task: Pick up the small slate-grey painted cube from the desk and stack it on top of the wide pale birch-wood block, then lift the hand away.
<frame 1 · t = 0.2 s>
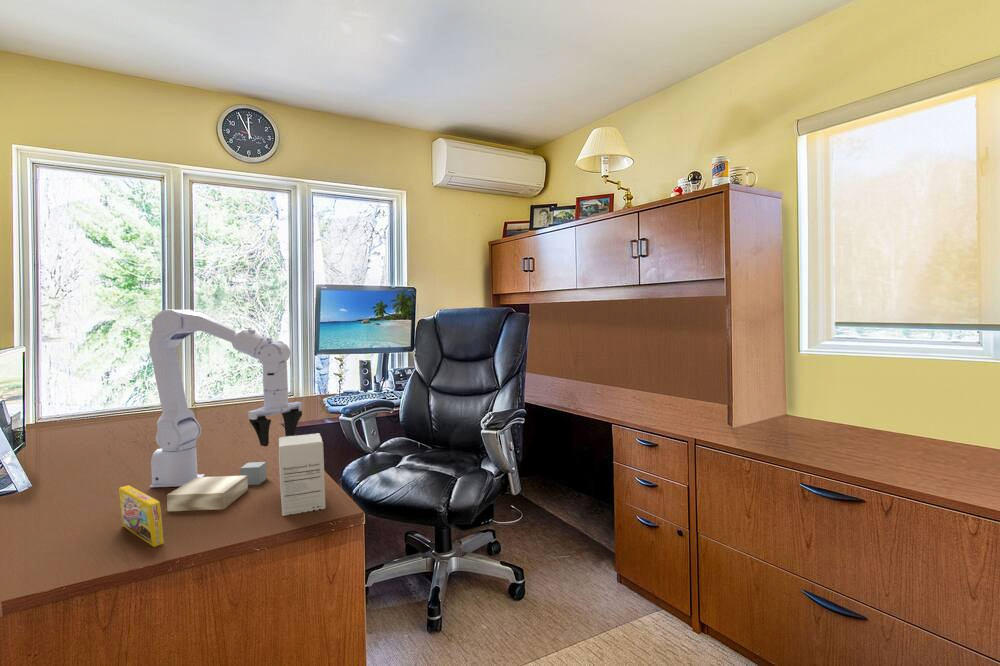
hand: (277, 442, 132), 10 cm above the table, fingers open, 7 cm apart
candy box: (141, 536, 100), on the table
birch block: (209, 501, 118), on the table
supplement box: (303, 506, 114), on the table
slate cube: (254, 482, 131), on the table
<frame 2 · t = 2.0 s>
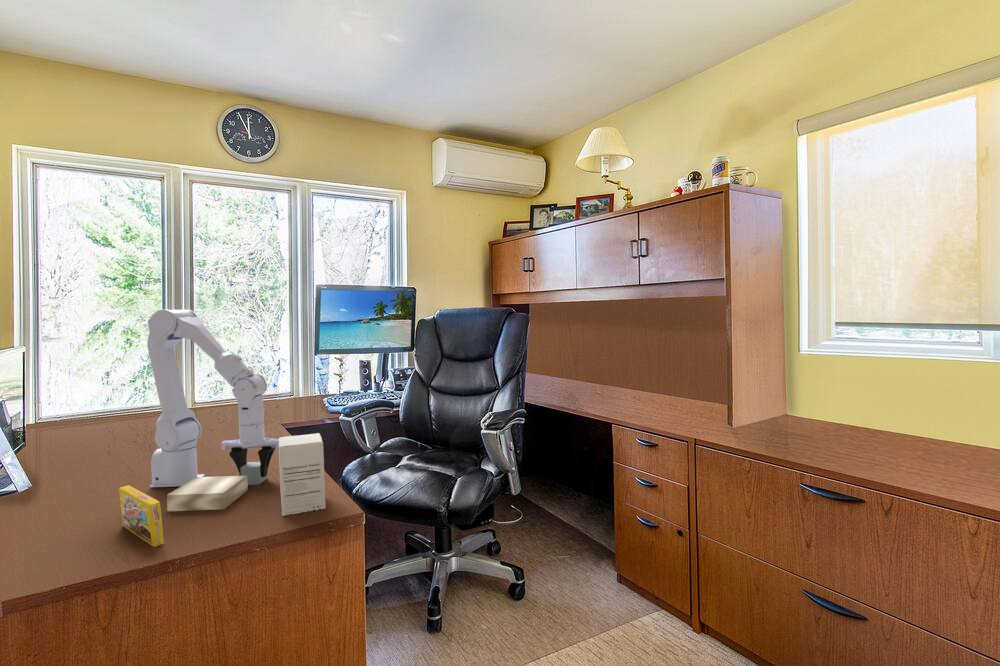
hand: (253, 476, 131), 1 cm above the table, fingers closed on slate cube, 4 cm apart
slate cube: (254, 481, 131), on the table, touching gripper
everything else where it was.
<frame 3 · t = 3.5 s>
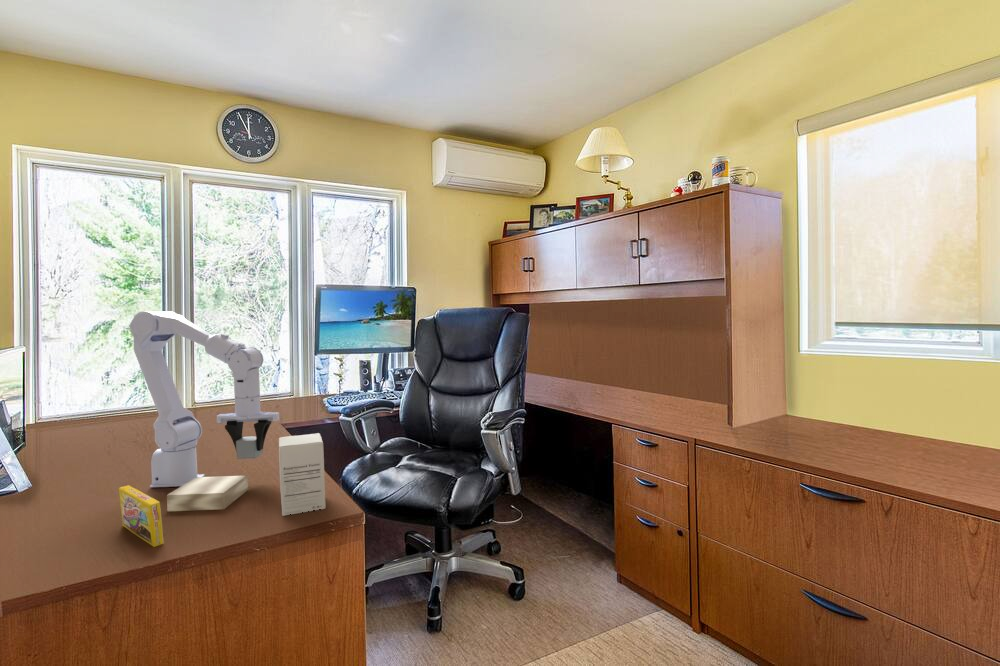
hand: (249, 450, 129), 8 cm above the table, fingers closed on slate cube, 4 cm apart
slate cube: (250, 456, 129), point 7 cm above the table, touching gripper
everything else where it was.
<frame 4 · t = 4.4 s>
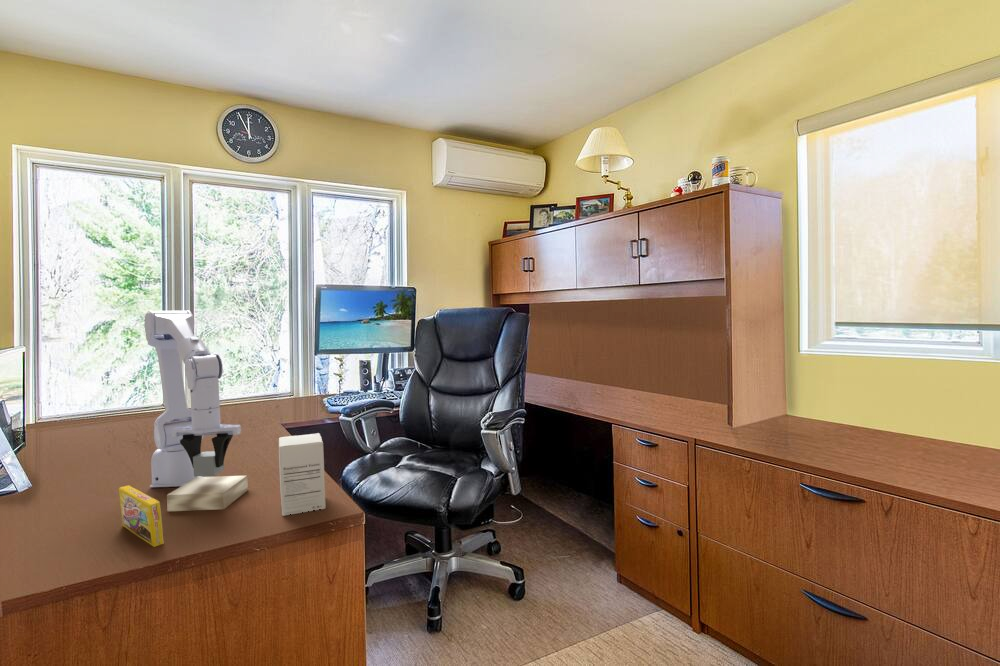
hand: (208, 466, 118), 8 cm above the table, fingers closed on slate cube, 4 cm apart
slate cube: (209, 473, 118), point 6 cm above the table, touching gripper
everything else where it was.
when the fingers open (6 cm above the table, at t = 5.1 s): slate cube drops 1 cm, point 3 cm above the table.
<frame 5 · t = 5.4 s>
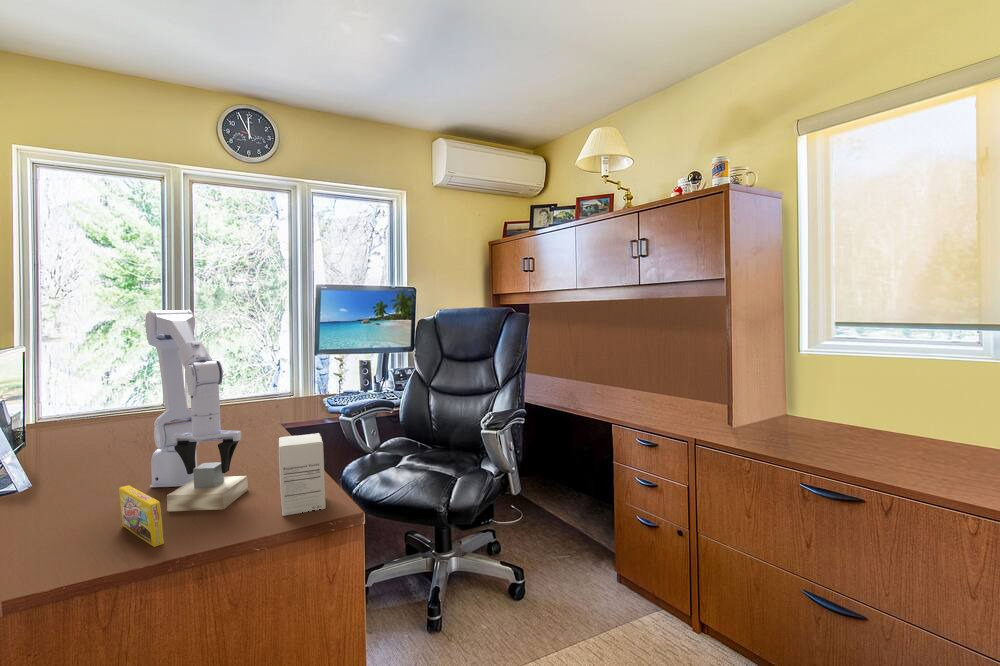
hand: (208, 472, 118), 6 cm above the table, fingers open, 7 cm apart
slate cube: (209, 484, 118), point 3 cm above the table
everything else where it was.
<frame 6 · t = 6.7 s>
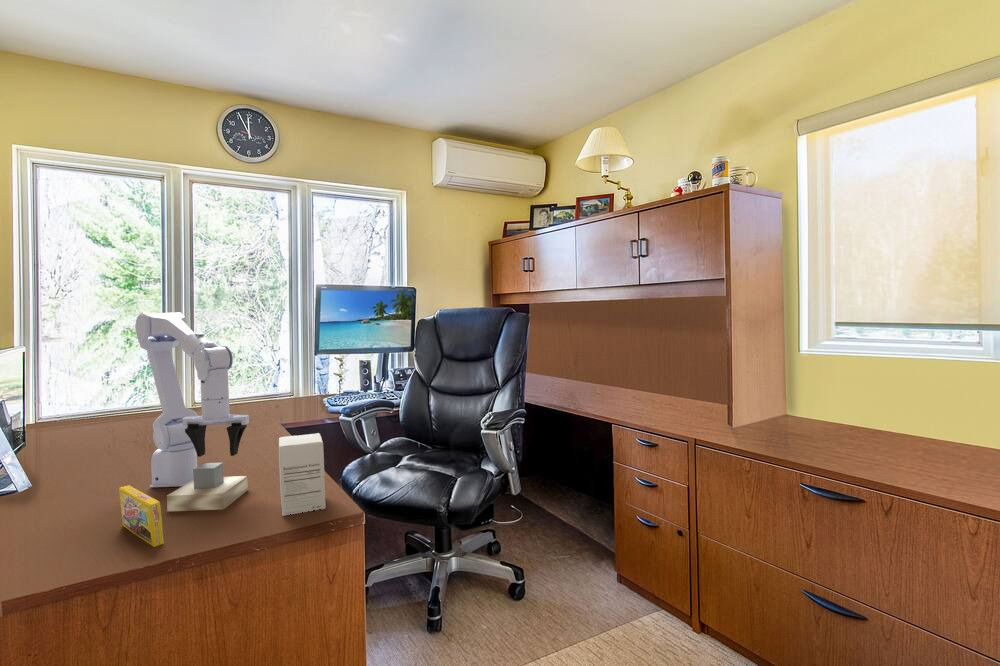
hand: (217, 455, 122), 9 cm above the table, fingers open, 7 cm apart
nothing on the table moved.
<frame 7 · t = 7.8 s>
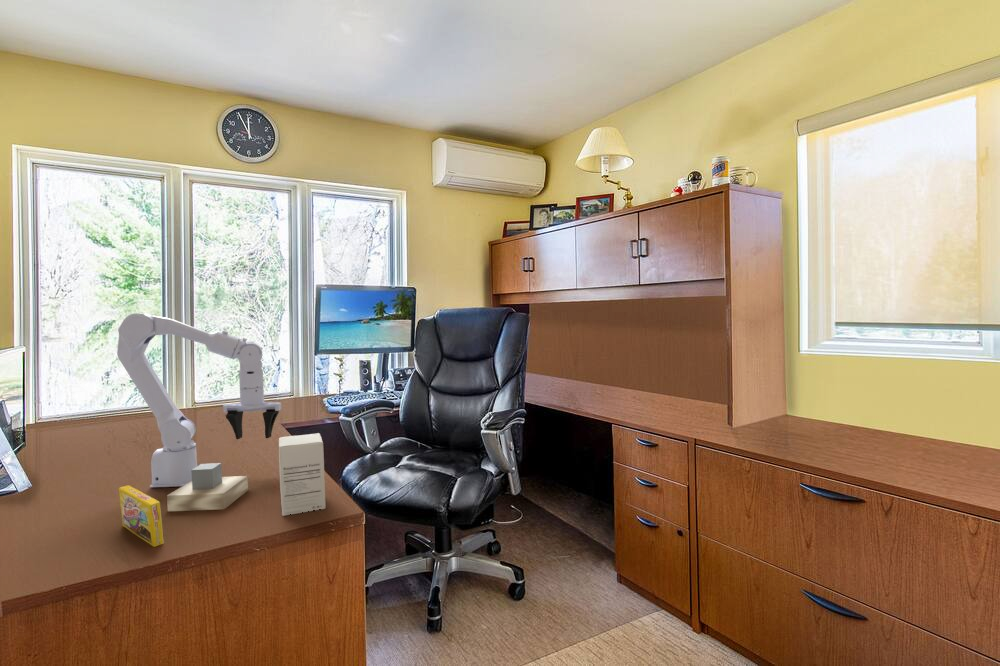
hand: (253, 437, 138), 9 cm above the table, fingers open, 7 cm apart
nothing on the table moved.
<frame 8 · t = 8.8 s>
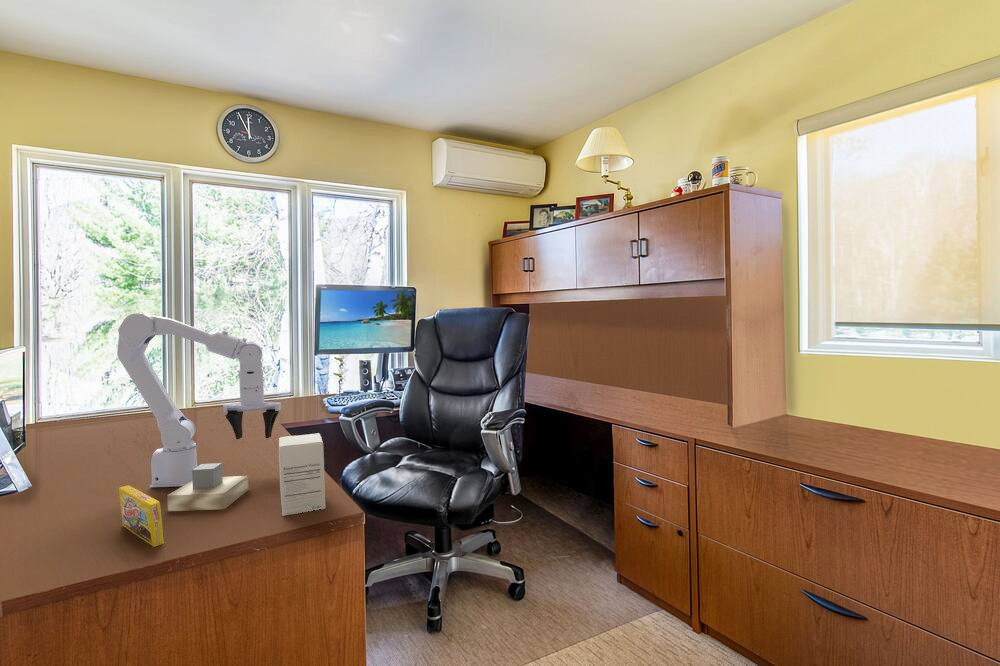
hand: (253, 437, 138), 9 cm above the table, fingers open, 7 cm apart
birch block: (210, 502, 118), on the table, touching slate cube
slate cube: (208, 485, 118), point 3 cm above the table, touching birch block
everything else where it was.
at the end: slate cube inside the target area on the birch block (0.4 cm from its centre), point 4.0 cm above the birch block's base; the gripper is holding nothing; slate cube tilted 0° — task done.
